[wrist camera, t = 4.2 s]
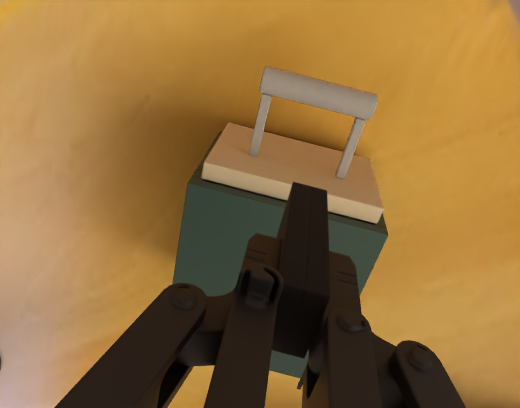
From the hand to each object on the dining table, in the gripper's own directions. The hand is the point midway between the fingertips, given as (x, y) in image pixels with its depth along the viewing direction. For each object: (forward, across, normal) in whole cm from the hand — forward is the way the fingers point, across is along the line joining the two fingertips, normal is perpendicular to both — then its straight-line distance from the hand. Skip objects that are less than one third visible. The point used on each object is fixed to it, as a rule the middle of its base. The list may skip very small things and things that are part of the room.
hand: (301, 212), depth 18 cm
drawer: (+15, 0, -6) cm, 16 cm away
